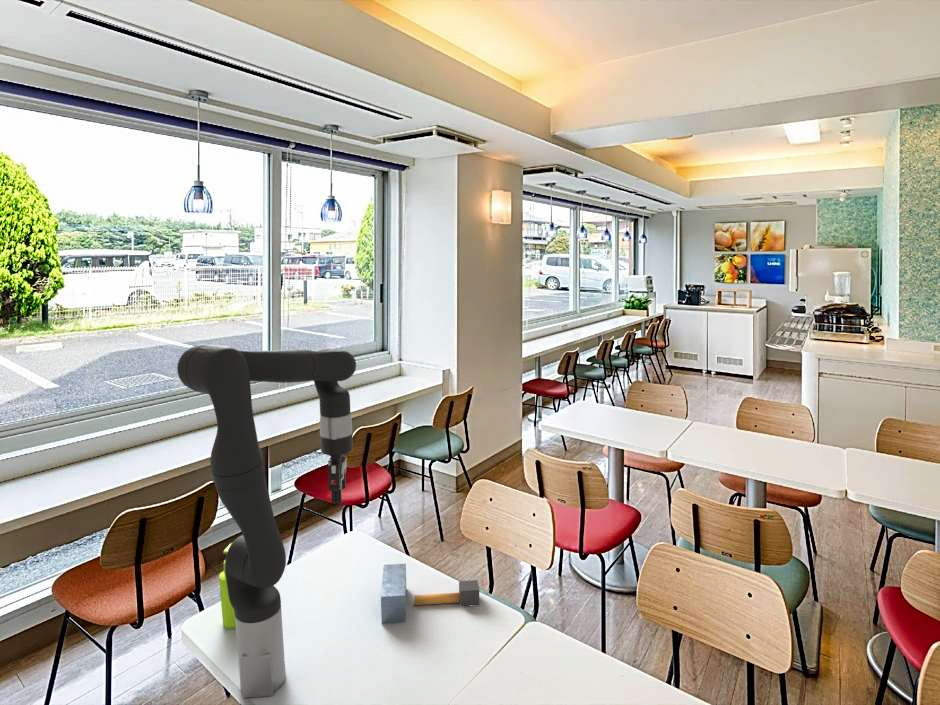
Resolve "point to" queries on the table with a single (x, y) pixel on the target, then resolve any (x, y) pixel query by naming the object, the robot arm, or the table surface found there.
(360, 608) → the table surface
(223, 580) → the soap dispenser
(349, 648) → the table surface
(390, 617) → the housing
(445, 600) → the hammer
